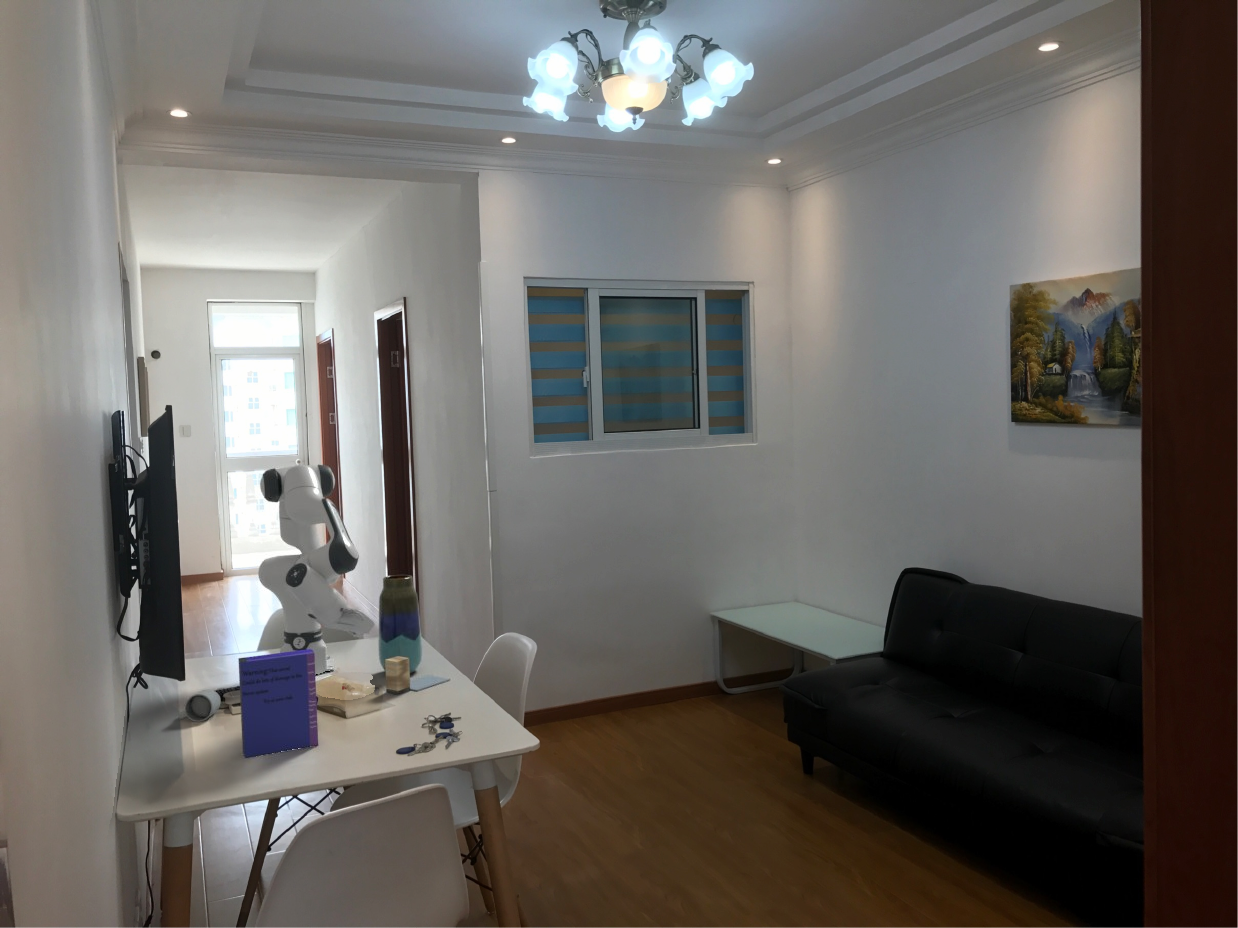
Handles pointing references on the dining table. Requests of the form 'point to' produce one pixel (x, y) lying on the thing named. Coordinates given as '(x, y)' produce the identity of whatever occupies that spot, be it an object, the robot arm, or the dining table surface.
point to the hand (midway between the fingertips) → (359, 635)
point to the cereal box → (278, 702)
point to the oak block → (397, 675)
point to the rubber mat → (425, 682)
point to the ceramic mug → (201, 706)
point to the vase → (399, 621)
